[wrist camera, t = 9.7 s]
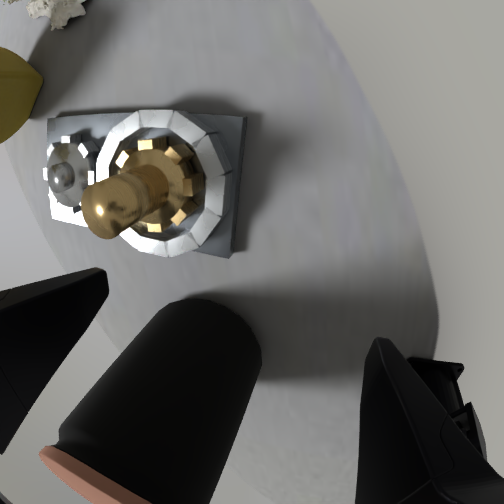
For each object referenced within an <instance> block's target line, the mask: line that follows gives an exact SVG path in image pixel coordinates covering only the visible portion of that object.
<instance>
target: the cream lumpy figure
mask: <svg viewBox="0 0 504 504" xmlns="http://www.w3.org/2000/svg"><path fill="white" fill-rule="evenodd" d="M3 1H4V2H5V0H3ZM10 1H11V2H10ZM14 1H16V2H17V1H19V0H9V1H7V2H8V3H9V4H11V3H13V2H14ZM20 1H21V0H20ZM84 1H85V0H31V1H30V3H29V2H28V5H29V6H28V5H27V6H26V9H27V10H28V12H29V11H30V12H29V13H28V14H29V16H30V17H32V18H34V19H36V18H37V17H39V16H41V17H42V16H43V15H46V16H47V17H49V18H50V20H51V21H52V23H51V26H52V28H51V31H53V30H54V29H55V28H56V29H64V28H62V26H65V25H66V24H67V21H68V19H69V18H70V17H76V16H79V15H85V14H86V12H85V9H83V8H84V7H83V6H82V4H81V3H82V2H84ZM4 5H5V4H4Z"/></svg>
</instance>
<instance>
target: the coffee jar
mask: <svg viewBox="0 0 504 504" xmlns="http://www.w3.org/2000/svg"><path fill="white" fill-rule="evenodd" d="M261 366H262V359H261V349H260V346H259V344H258V342H257V340H256V337H255V335H254V333H253V332H252V330H251V328H250V327H249V326H248V325H247V324H246V323H245V322H244V320H243V319H242V318H241V317H240V316H239V315H237V314H236V313H234V312H233V311H231V310H230V309H228V308H227V307H225V306H222V305H220V304H217V303H214V302H212V301H209V300H199V299H185V300H180V301H176V302H172V303H169V304H168V305H166V306H165V307H164V308H162V309H161V310H159V311H158V312H157V314H156V315H155V316H154V317H153V318H152V319H151V320H150V321H149V323H148V324H147V325H146V326H145V327H144V328H143V329H142V330H141V332H140V333H139V334H138V335H137V336H136V337H135V338H134V340H133V341H132V342H131V343H130V344H129V345H128V346H127V348H126V349H125V350H124V351H123V352H122V353H121V355H120V356H119V357H118V358H117V359H116V360H115V361H114V363H113V364H112V365H111V366H110V367H109V368H108V370H107V371H106V372H105V373H104V374H103V375H102V377H101V378H100V379H99V380H98V381H97V382H96V384H95V385H94V386H93V387H92V388H91V389H90V391H89V392H88V393H87V394H86V396H85V397H84V398H83V399H82V400H81V401H80V403H79V404H78V405H77V406H76V408H75V409H74V410H73V411H72V412H71V413H70V415H69V416H68V417H67V418H66V419H65V421H64V422H63V423H62V424H61V426H60V428H59V441H58V442H57V444H56V445H51V446H45V447H44V448H43V449H42V450H41V451H40V452H39V456H40V458H41V460H42V461H43V462H44V463H45V465H46V466H47V467H48V468H49V469H50V470H51V471H52V472H53V473H54V474H55V475H57V477H59V478H60V479H61V480H62V481H63V482H65V483H66V484H67V485H68V486H69V487H71V488H72V489H73V490H74V491H76V492H77V493H79V494H80V495H81V496H83V497H84V498H86V499H87V500H88V501H90V502H91V503H93V504H209V503H210V500H211V498H212V496H213V493H214V491H215V488H216V486H217V483H218V481H219V479H220V476H221V474H222V471H223V469H224V466H225V464H226V461H227V459H228V456H229V453H230V451H231V448H232V446H233V443H234V440H235V438H236V435H237V432H238V430H239V427H240V424H241V422H242V419H243V416H244V414H245V411H246V408H247V405H248V403H249V400H250V397H251V394H252V392H253V389H254V386H255V383H256V380H257V377H258V375H259V372H260V369H261Z"/></svg>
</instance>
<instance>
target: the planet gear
mask: <svg viewBox="0 0 504 504" xmlns="http://www.w3.org/2000/svg"><path fill="white" fill-rule="evenodd" d="M193 155H194V153H193V152H192V151H191V150H190V149H189V148H188V147H187V146H186V145H185V144H184V143H182V144H178V145H174V146H167V141H166V137H156V138H149V139H145V140H140V141H138V147H135V148H131V149H127V150H123V152H122V153H121V155H120V156H119V158H118V160H117V161H116V163H117V164H118V165H119V166H120V167H121V170H120V173H118V174H116V175H113V176H111V177H108V178H105V179H103V180H100V181H98V182H95V183H93V184H91V185H89V186H88V187H87V188H86V189H85V190H84V192H83V194H82V198H81V211H82V215H83V218H84V221H85V223H86V224H87V226H88V228H89V229H90V230H91V231H92V232H93V233H94V234H95V235H97V236H98V237H100V238H103V239H112V238H114V237H116V236H118V235H119V234H121V233H122V232H124V231H125V230H127V229H128V228H130V227H131V226H133V225H134V224H136V223H137V222H139V221H143V222H145V223H147V226H148V232H163V231H164V230H165V229H167V228H168V227H169V226H171V225H172V224H173V223H175V224H176V225H177V226H178V225H179V224H180V223H182V222H183V221H184V220H186V219H187V218H188V217H189V216H190V215H191V214H192V213H193V212H194V211H195V210H196V209H197V208H198V206H197V205H196V204H195V203H194V202H193V201H192V199H193V196H194V195H195V194H196V193H198V192H200V191H201V190H203V189H204V178H203V173H194V170H193V167H192V165H191V163H190V161H189V160H190V159H191V158H192V156H193Z"/></svg>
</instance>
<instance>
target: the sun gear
mask: <svg viewBox="0 0 504 504" xmlns="http://www.w3.org/2000/svg"><path fill="white" fill-rule="evenodd" d="M98 151H99V149H98V147H97V146H96V144H95V143H94V141H88V142H83V141H81V134H69V135H64V136H61V141H60V142H55V143H51V145H50V147H49V148H48V150H47V154H48V155H49V159H48V164H47V167H44V168H43V171H44V180H48V184H49V187H50V190H51V193H50V194H49V196H50V198H51V200H52V201H53V203H54V204H57V203H60V204H61V205H63V206H64V207H65V213H67V214H72V215H73V214H76V213H78V212H80V211H81V198H82V194H83V192H84V190H85V189H86V188H87V187H88V186H89V185H91V184H93V183H95V182H97V162H98V161H97V157H96V154H97V153H98Z"/></svg>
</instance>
